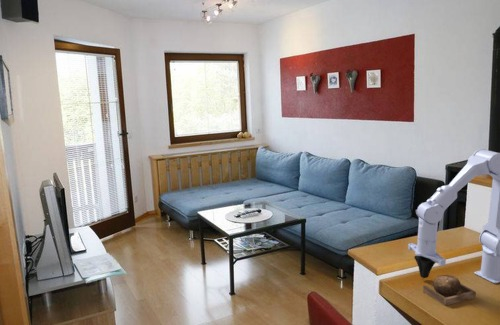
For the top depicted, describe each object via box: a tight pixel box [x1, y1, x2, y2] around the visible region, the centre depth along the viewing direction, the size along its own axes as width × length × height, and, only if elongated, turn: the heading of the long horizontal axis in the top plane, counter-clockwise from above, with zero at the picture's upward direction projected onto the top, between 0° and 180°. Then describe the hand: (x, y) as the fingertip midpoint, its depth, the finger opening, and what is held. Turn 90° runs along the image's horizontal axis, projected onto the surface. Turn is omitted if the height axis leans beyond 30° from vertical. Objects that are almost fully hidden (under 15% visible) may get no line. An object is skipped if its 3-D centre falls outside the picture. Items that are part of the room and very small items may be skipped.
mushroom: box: [432, 274, 461, 298], centre depth 124 cm, size 8×8×6 cm
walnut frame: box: [422, 282, 477, 306], centre depth 124 cm, size 12×9×2 cm
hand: (424, 276), depth 133 cm, fingers closed
